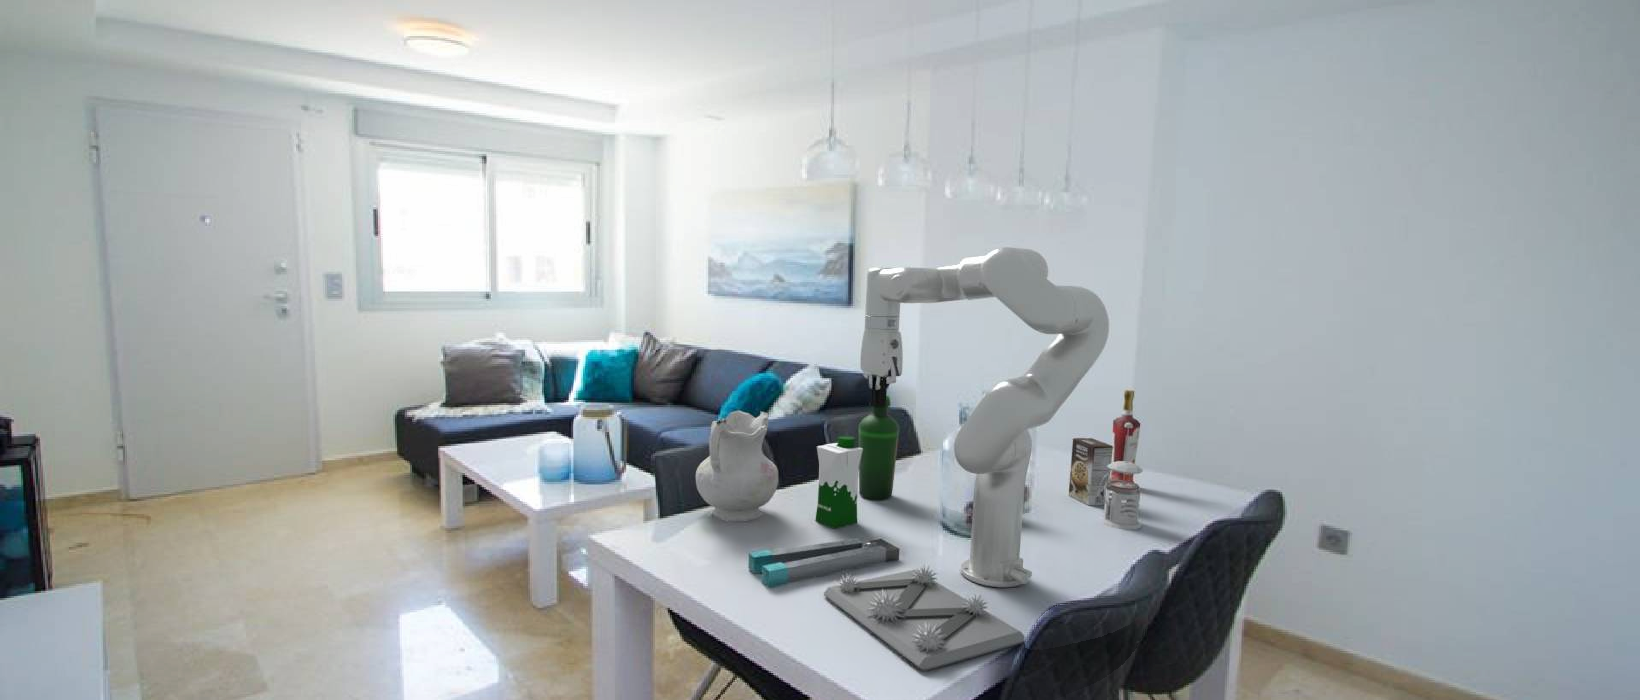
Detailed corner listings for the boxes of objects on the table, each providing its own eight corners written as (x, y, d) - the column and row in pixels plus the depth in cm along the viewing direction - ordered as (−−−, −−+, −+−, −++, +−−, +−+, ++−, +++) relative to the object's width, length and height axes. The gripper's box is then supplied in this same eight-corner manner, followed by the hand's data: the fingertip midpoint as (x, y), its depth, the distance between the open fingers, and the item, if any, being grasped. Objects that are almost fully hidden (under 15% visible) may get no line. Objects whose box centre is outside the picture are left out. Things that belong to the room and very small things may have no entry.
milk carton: (862, 523, 178) (867, 439, 176) (834, 531, 172) (838, 444, 170) (837, 513, 185) (841, 432, 183) (809, 520, 179) (812, 437, 177)
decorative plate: (1028, 647, 123) (1031, 605, 122) (922, 678, 112) (924, 632, 111) (915, 578, 149) (917, 543, 148) (820, 598, 138) (822, 560, 137)
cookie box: (1067, 495, 208) (1071, 437, 207) (1087, 494, 210) (1091, 437, 209) (1088, 505, 200) (1093, 445, 198) (1108, 504, 202) (1113, 444, 200)
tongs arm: (867, 550, 160) (867, 535, 160) (878, 558, 156) (879, 543, 156) (748, 567, 148) (748, 552, 148) (757, 576, 144) (757, 560, 144)
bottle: (902, 495, 202) (908, 391, 199) (884, 504, 193) (889, 396, 190) (867, 487, 208) (872, 386, 205) (847, 496, 199) (852, 390, 196)
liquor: (1115, 481, 225) (1123, 387, 223) (1139, 487, 220) (1148, 391, 217) (1102, 484, 221) (1110, 389, 218) (1126, 491, 215) (1135, 393, 212)
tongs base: (880, 549, 162) (881, 534, 162) (899, 559, 157) (900, 544, 156) (752, 574, 146) (753, 558, 146) (768, 587, 140) (769, 570, 140)
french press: (1150, 527, 184) (1160, 426, 182) (1113, 531, 180) (1122, 427, 177) (1121, 514, 193) (1129, 417, 191) (1084, 518, 189) (1092, 419, 186)
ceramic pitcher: (760, 538, 168) (773, 429, 166) (676, 524, 171) (687, 416, 168) (780, 509, 190) (792, 412, 187) (705, 496, 193) (716, 400, 190)
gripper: (917, 327, 162) (912, 411, 164) (875, 321, 175) (871, 400, 177) (889, 327, 158) (884, 413, 160) (848, 321, 171) (844, 401, 173)
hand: (877, 406), depth 169 cm, fingers closed
